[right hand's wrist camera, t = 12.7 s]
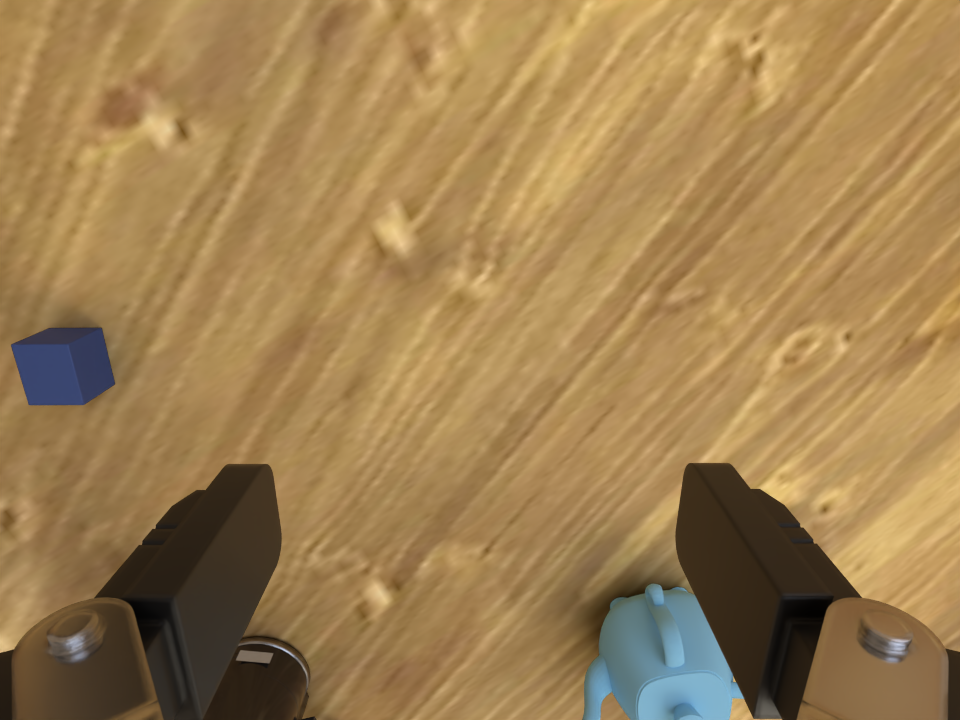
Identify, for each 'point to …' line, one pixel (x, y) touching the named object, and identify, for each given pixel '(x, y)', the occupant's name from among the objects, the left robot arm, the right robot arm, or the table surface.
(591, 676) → the teapot
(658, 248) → the table surface
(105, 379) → the brick
